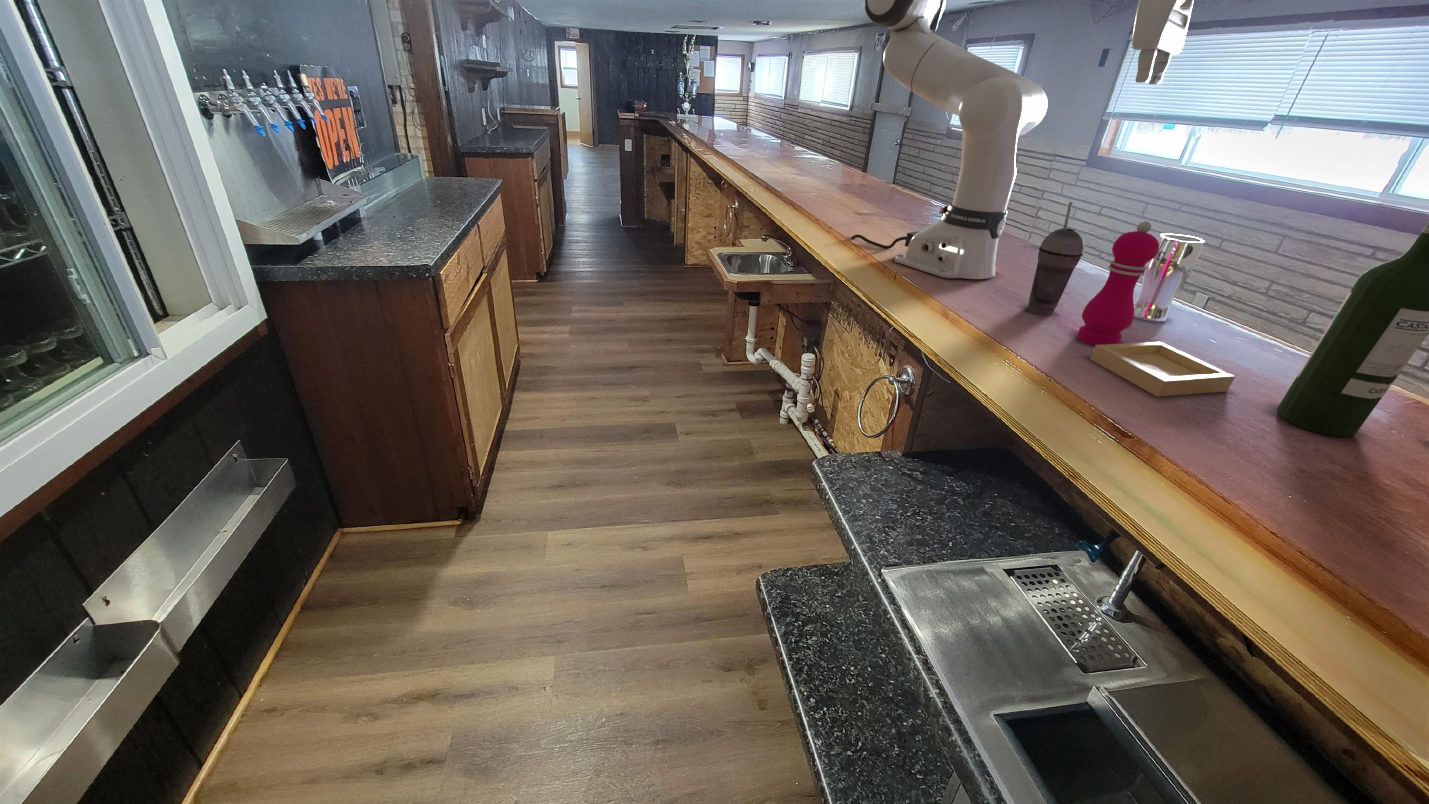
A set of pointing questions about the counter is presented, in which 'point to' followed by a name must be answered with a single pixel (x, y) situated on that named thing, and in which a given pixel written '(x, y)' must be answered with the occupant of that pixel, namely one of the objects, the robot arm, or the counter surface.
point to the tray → (1161, 369)
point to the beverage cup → (1055, 267)
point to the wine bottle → (1363, 346)
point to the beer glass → (1166, 275)
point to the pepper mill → (1119, 288)
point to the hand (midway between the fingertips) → (1148, 83)
